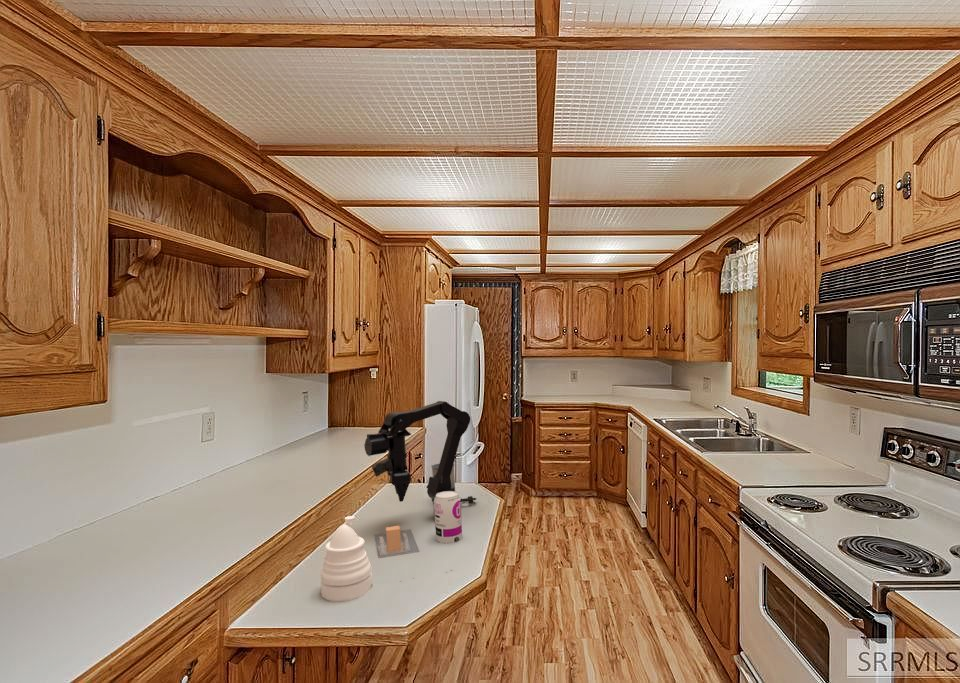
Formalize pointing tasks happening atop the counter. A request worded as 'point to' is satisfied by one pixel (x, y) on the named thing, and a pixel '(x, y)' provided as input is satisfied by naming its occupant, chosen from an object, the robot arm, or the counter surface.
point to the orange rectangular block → (393, 538)
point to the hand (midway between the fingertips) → (399, 497)
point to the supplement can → (448, 517)
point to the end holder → (385, 552)
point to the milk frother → (434, 472)
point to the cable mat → (411, 542)
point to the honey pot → (345, 566)
